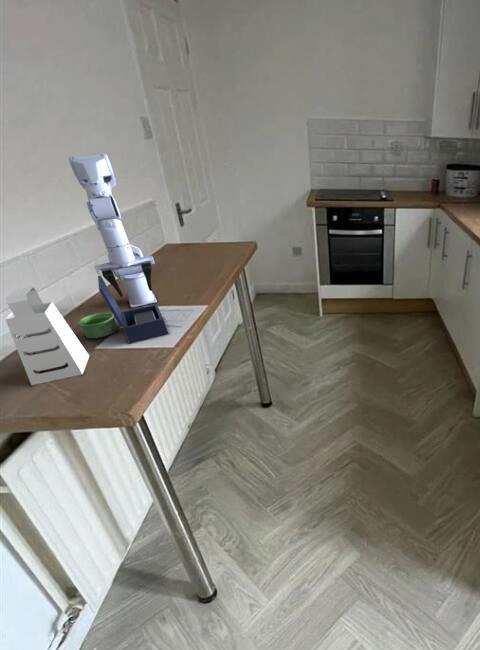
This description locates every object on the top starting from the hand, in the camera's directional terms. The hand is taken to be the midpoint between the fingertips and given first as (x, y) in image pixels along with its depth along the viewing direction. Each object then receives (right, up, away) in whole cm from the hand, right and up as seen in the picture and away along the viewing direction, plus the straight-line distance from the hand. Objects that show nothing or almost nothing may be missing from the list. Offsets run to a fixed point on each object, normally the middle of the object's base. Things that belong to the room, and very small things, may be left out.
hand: (136, 292), depth 122 cm
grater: (-8, -23, -18) cm, 30 cm away
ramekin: (-10, -12, 0) cm, 15 cm away
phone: (+4, -10, 0) cm, 11 cm away
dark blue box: (+3, -11, 0) cm, 11 cm away
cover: (-2, -4, -8) cm, 9 cm away
